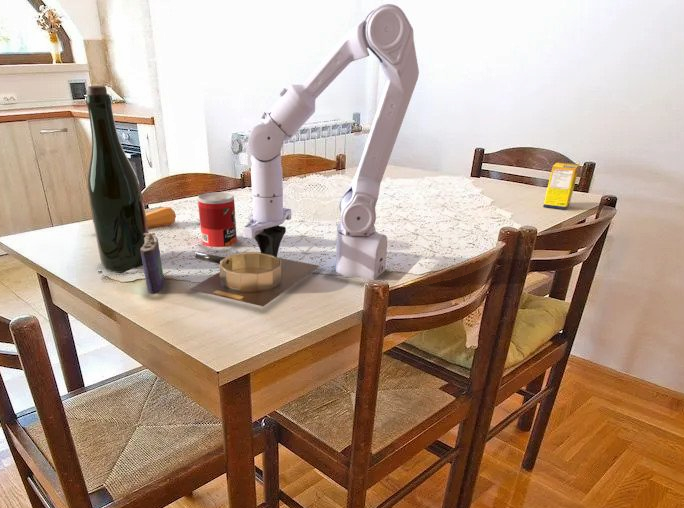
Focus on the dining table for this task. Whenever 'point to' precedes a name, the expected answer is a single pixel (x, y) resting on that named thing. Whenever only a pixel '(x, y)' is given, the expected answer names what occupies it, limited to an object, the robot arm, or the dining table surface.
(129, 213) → the green wine bottle
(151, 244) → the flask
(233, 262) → the pan
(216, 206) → the canned food
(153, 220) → the carrot
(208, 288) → the board
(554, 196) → the supplement box
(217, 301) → the dining table surface
